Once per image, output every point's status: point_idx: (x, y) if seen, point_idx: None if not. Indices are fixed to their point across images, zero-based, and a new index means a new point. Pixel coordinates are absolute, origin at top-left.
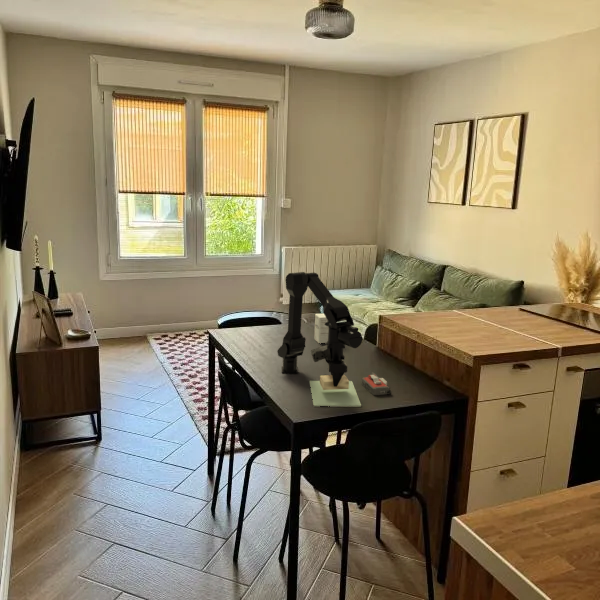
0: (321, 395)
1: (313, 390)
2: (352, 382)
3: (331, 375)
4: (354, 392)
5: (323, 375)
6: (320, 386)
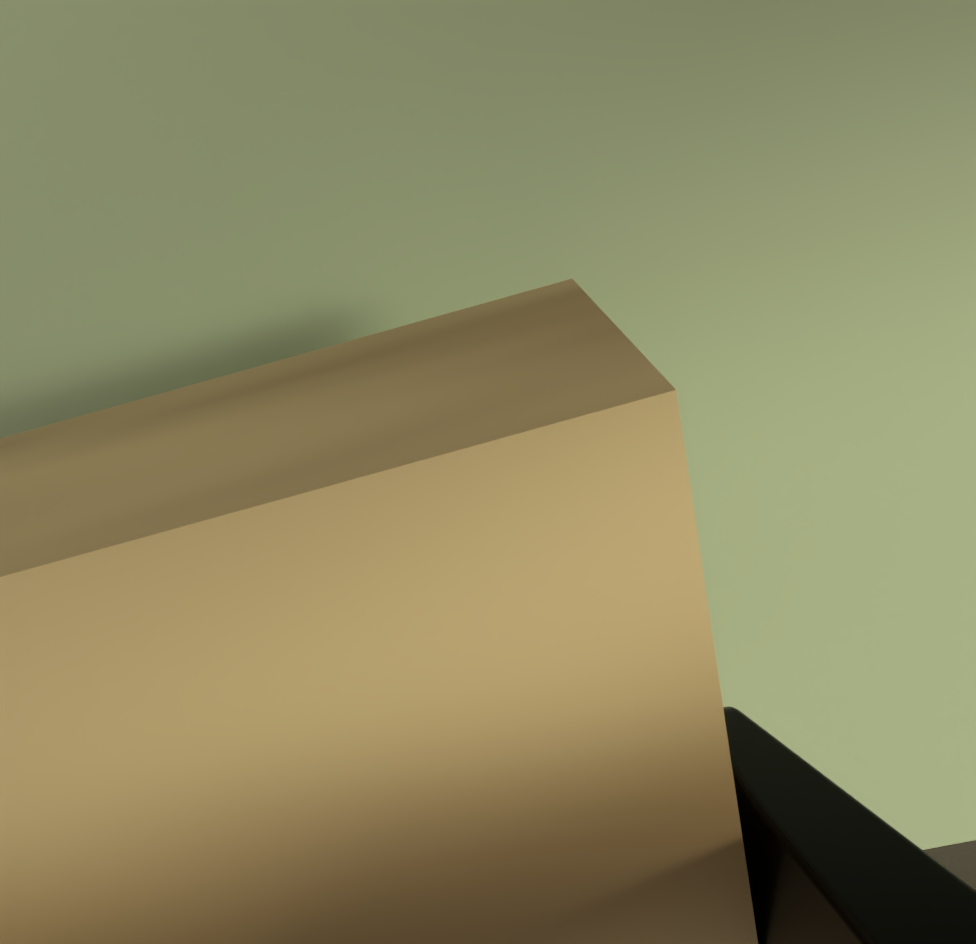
0: (94, 320)
1: (432, 31)
2: (951, 843)
3: (698, 845)
4: None
5: (688, 557)
6: (771, 246)
